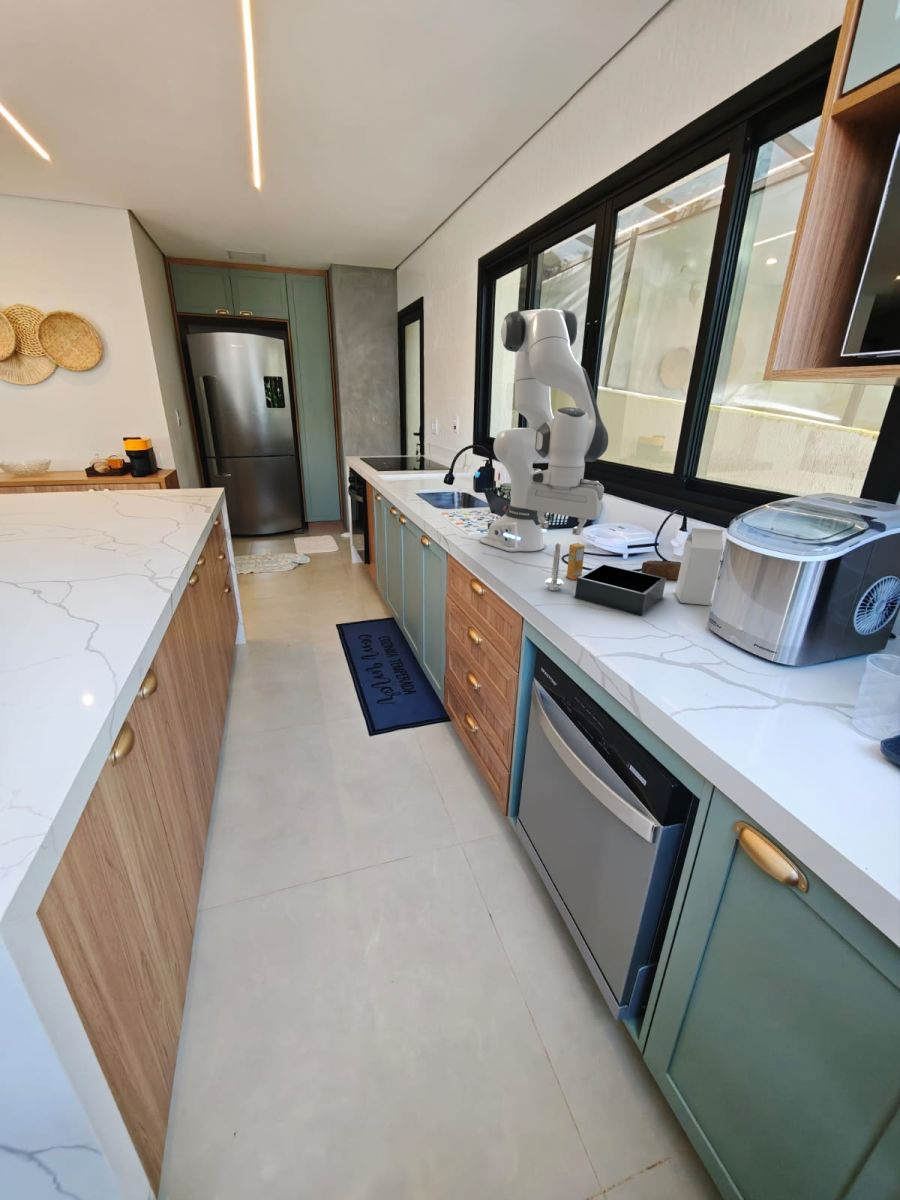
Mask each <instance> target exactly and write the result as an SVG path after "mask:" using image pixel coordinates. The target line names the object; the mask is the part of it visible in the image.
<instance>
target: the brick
mask: <svg viewBox="0 0 900 1200" xmlns="http://www.w3.org/2000/svg"><path fill="white" fill-rule="evenodd" d="M680 566H681V561H675V560H674V561H671V560H647V561H643V562H642V563H641V573H646V574H650V575H654V576H659V577H663V578H666V581H667V580H668V581H678V576H679V571H680Z"/></svg>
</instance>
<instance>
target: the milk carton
mask: <svg viewBox="0 0 900 1200" xmlns="http://www.w3.org/2000/svg"><path fill="white" fill-rule="evenodd" d="M723 532H724V531H723V529H715V528H703V527H702V528H700V527H691V531H690V533H689V535H688V536H687V537H686V539H685V543H684V548H683V553H682V557H681V561H680V562H681V566H680V571H679V576H678V580H676V586H675V591H674V593H675V595H676V597H677V599H678V601H679V602H680V603H682V604H690V605H691V604H692V605H704V606H710V605H711V602H712V598H713V593H714V589H715V585H716V581H717V577H718V573H719V572H718V571H719V568H720V566H721V560H722V555H723V552H724V541H723Z"/></svg>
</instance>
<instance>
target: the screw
mask: <svg viewBox="0 0 900 1200" xmlns="http://www.w3.org/2000/svg"><path fill="white" fill-rule="evenodd" d="M554 547H555V548H554V553H553V559H552V560H553V561H552V566H551V567H552V570H551V577H550V578H549V577H548V578H547V579H545V581H544V583H545V585H548V590H549V591H552V592H553V591H555V592H556V591H558V590H559V587H561V586H563V585H564V581H563V580H562V579H560V578H559V573H560V572H559V571H560V563H561V543H559V542H557V543H555V546H554Z"/></svg>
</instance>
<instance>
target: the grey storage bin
mask: <svg viewBox="0 0 900 1200" xmlns="http://www.w3.org/2000/svg"><path fill="white" fill-rule="evenodd" d="M666 582H667V579H666V578H663V577H659V576H654V575H650V574H646V573H642V571H637V570H634V569H633V570H632V569H627V568H624V567H619V566H615V565H611V564H606V563H601V564H599V565H597V566H595V567H594V568H592V569H590V570H588V571H586V572H585V573H582V575H581V576H579V577H578V578H577V579H576V583H575V584H576V585H575V591H574V592H575V593H574V598H575V599H578V600H582V601H586V602H589V603H593V604H597V605H600V606H604V607H607V608H611V609H614V610H618V611H621V612H624V613H625V612H626V613H629V614H632V615H635V616H639V617H642V616H643V615H644V614H646V613H647V612H648V611H649V610H650V609H652V608H653V607H654V606H655V605H656V604H657V603H658V602H660V601H661V600H662V599H663V597H664V592H665V587H666Z"/></svg>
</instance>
